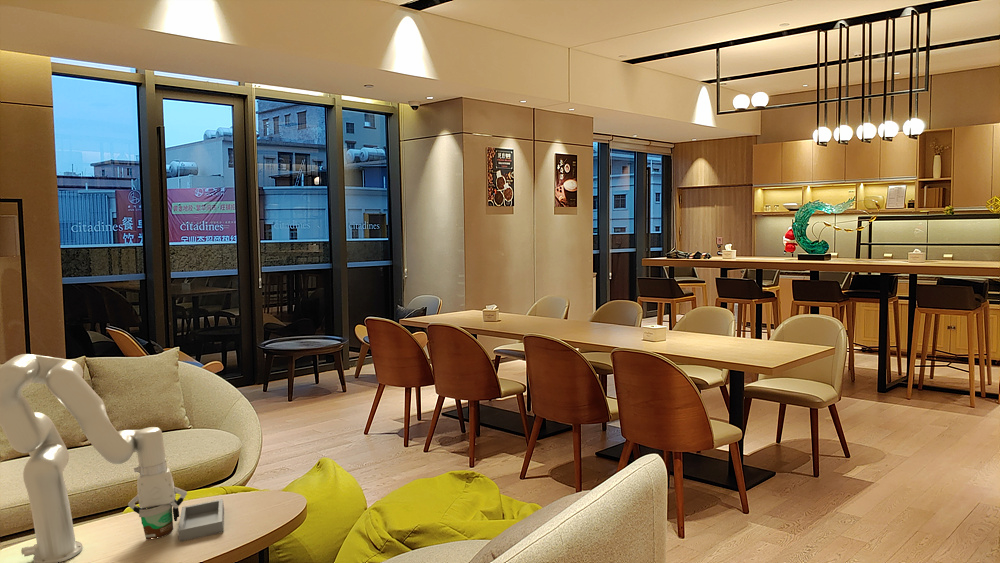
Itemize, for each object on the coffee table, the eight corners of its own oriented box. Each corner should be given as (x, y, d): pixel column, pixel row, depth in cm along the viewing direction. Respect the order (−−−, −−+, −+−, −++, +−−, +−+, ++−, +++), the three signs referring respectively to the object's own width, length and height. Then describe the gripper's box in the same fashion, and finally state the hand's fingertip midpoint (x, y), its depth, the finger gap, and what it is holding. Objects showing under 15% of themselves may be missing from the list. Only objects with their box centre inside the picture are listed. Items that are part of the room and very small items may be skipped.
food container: (160, 542, 221) (156, 511, 220) (142, 542, 222) (138, 510, 221) (185, 523, 233) (181, 493, 232) (168, 523, 234) (164, 493, 233)
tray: (179, 541, 221) (178, 530, 220) (183, 517, 238) (182, 507, 237) (223, 532, 225) (222, 521, 224) (224, 508, 242) (222, 498, 241)
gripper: (120, 478, 218) (128, 534, 221) (183, 466, 224) (190, 521, 226) (123, 469, 225) (131, 524, 228) (184, 458, 231) (192, 511, 233)
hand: (161, 522), depth 227 cm, fingers closed on food container, 7 cm apart
